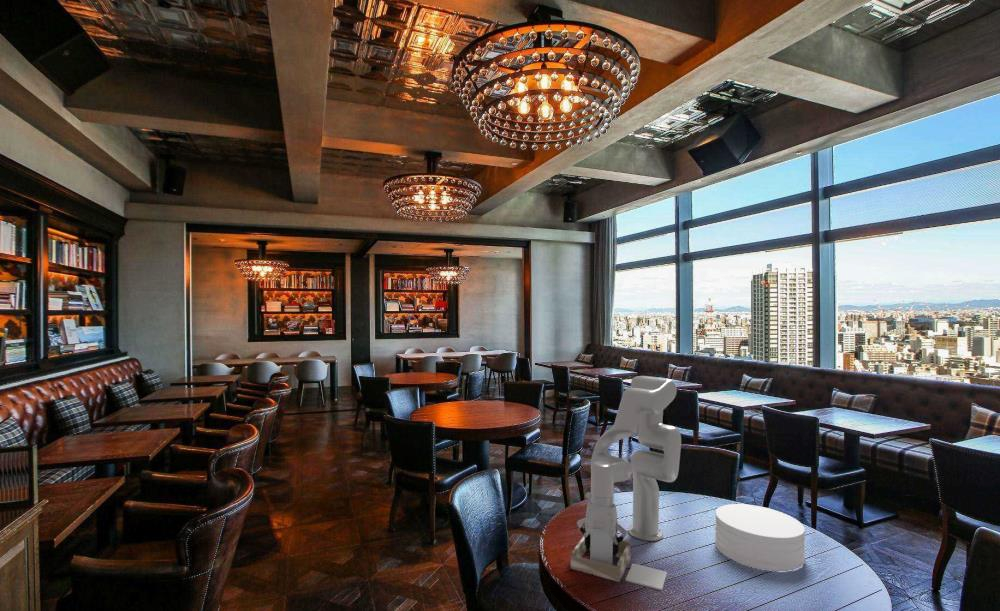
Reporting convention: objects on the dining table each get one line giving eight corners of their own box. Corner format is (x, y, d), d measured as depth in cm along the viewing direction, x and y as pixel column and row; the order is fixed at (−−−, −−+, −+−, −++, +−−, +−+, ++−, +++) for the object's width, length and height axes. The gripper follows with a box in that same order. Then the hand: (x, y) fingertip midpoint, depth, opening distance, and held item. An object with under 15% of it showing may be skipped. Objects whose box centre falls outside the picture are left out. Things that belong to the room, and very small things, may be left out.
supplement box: (612, 570, 156) (613, 531, 156) (589, 568, 158) (590, 529, 158) (612, 559, 163) (612, 522, 164) (590, 556, 165) (590, 520, 165)
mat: (632, 564, 160) (632, 563, 160) (667, 573, 155) (667, 571, 155) (625, 580, 150) (625, 579, 150) (661, 590, 145) (661, 589, 145)
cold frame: (585, 547, 171) (585, 530, 171) (630, 559, 164) (630, 541, 164) (570, 568, 157) (570, 550, 157) (619, 581, 150) (619, 562, 150)
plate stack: (719, 527, 190) (719, 498, 191) (802, 545, 176) (802, 514, 177) (711, 558, 166) (711, 524, 166) (806, 582, 152) (807, 545, 152)
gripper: (573, 498, 162) (572, 549, 161) (625, 508, 154) (624, 563, 153) (580, 491, 168) (579, 540, 168) (630, 500, 160) (629, 552, 160)
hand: (601, 551), depth 161 cm, fingers closed on supplement box, 8 cm apart
